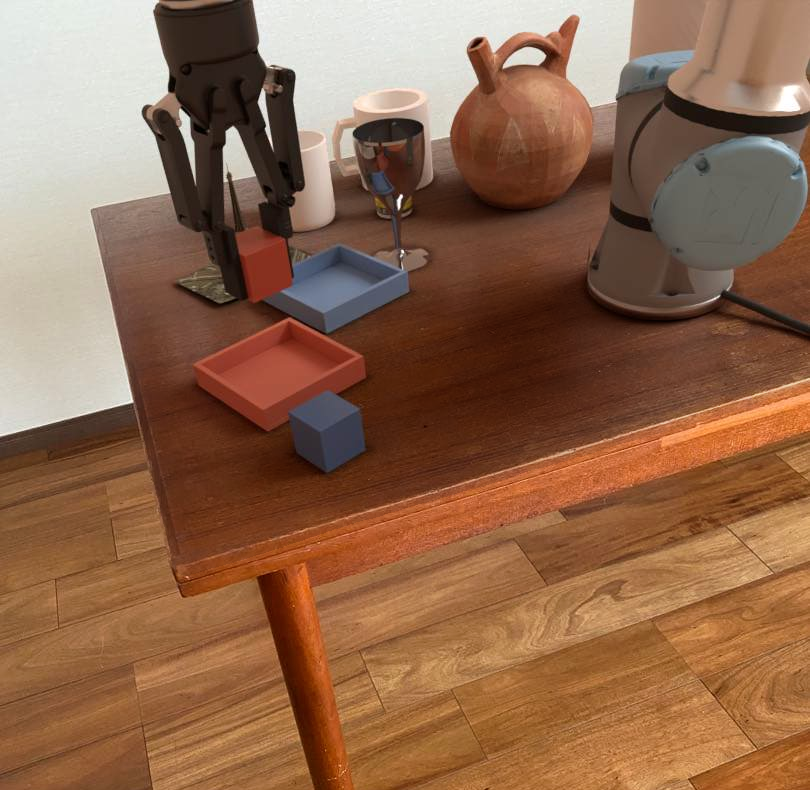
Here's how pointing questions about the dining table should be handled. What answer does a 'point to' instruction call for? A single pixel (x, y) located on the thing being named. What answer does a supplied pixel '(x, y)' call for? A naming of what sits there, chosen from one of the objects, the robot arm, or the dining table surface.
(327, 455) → the blue block
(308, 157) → the cup
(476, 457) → the dining table surface
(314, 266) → the blue tray
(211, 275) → the eiffel tower figurine
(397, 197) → the wine glass
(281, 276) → the red block
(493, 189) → the jug
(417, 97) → the mug
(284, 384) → the red tray
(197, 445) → the dining table surface
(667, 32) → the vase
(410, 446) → the dining table surface
